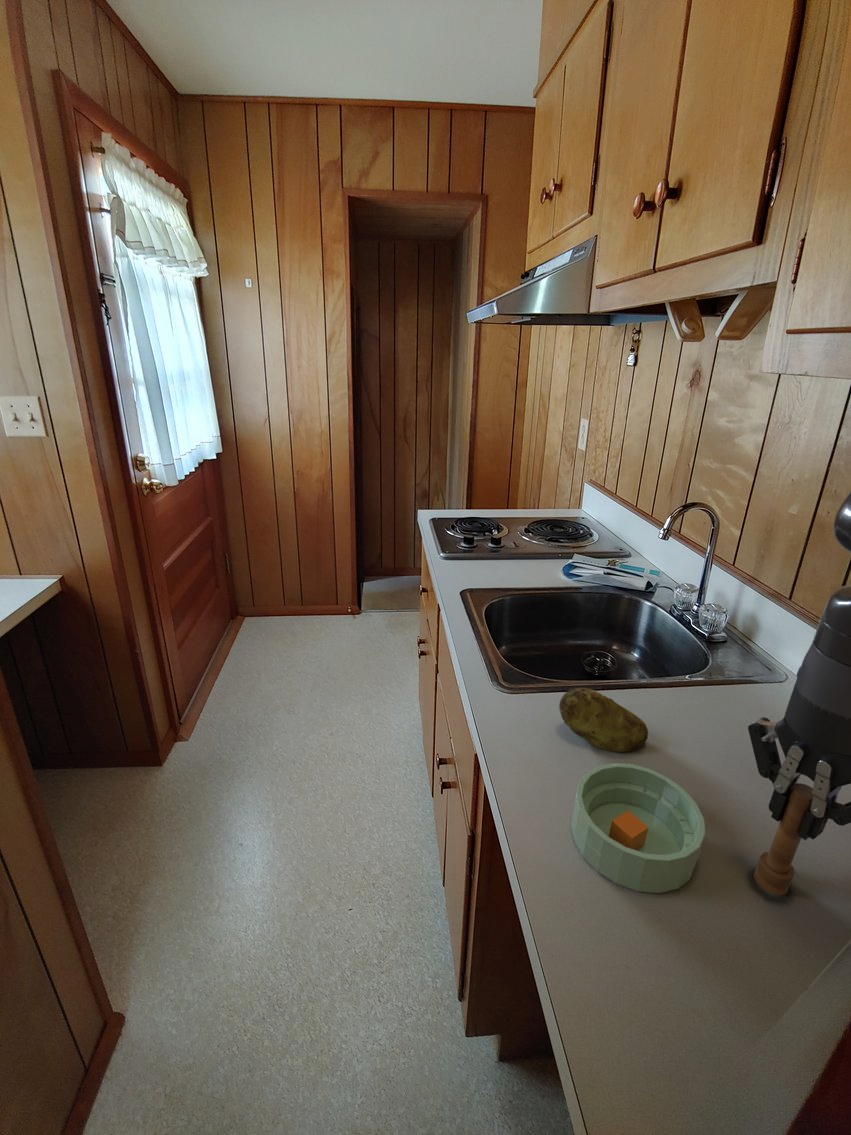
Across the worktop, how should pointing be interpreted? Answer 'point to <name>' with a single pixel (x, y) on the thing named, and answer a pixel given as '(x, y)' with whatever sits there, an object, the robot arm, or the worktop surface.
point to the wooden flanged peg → (784, 844)
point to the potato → (602, 721)
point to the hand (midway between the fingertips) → (792, 825)
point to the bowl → (653, 803)
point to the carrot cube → (628, 831)
